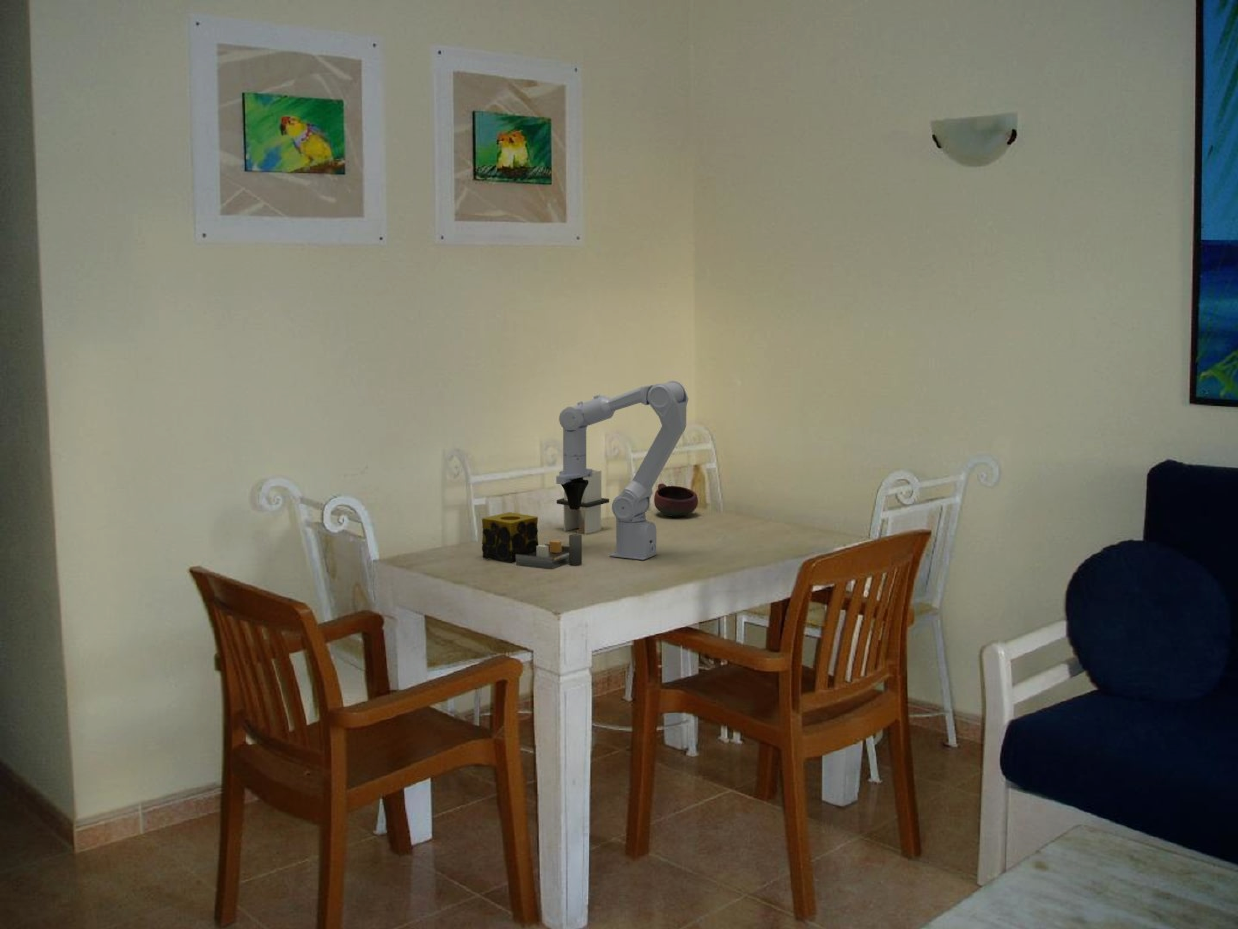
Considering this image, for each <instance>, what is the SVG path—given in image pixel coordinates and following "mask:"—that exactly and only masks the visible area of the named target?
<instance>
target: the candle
mask: <svg viewBox="0 0 1238 929" xmlns="http://www.w3.org/2000/svg"><path fill="white" fill-rule="evenodd" d="M481 523H482V525H481V526H482V541H481V542H482V543H481V544H482V546H481V551H482V557H483V558H484V559H488V560H492V561H498V562H502V563H503V562H504V563H509V564H511V563H516V554H523V555H528V554H530V553H533V552H536V546H538V545H539V539H538V538H539V534H538V533H539V529H538V523H539V517H538V516H536V515H528V514H524V513H516V512H510V511H508V512H505V513H500V514H495V515H490V516H486V517H482V518H481Z"/></svg>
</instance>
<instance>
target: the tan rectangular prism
mask: <svg viewBox="0 0 1238 929" xmlns="http://www.w3.org/2000/svg"><path fill="white" fill-rule="evenodd" d="M549 544H550V552H556V553H559V552H562V546H563V545H562V541H561V540H550V541H549Z"/></svg>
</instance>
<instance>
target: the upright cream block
mask: <svg viewBox="0 0 1238 929" xmlns="http://www.w3.org/2000/svg"><path fill="white" fill-rule="evenodd" d="M536 553H537V556H540V557H548V556H549V546H546V545H545V544H538V546H536Z"/></svg>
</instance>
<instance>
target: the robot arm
mask: <svg viewBox="0 0 1238 929" xmlns="http://www.w3.org/2000/svg"><path fill="white" fill-rule="evenodd" d="M687 394H688V393H687V391H686V388H685V387H684V386H683V384H681V383H680V382H678V381H675V380H670V381H667V382H665V383H664V382H663V383H655V384H651V385H645V386H640V387H637V388H635V389H632V390H630V391H627V392H624V393H622V394H619V395H616V396H614V397H612V398H610V397H609V396H606V395H600V394H595V395H594V396H593V399H590V400H587V401H584V402H583V401H579V402H577V403H576V404H577V405H575V406H567V407H566V408H564V409H562V410H561V412H560V413H559V418H558V421H559V424H560V426H561V427H562V428H563V429H562V433H563V435H562V438H563V439H562V466H563V467H562V470H561V471H559V473H558V475H556V476H555V477H556V483H555V484H557V485H561V487H562V489H563V492H564V491H565V493H566V496H567V499H568V503H569V507H570V509H573V510H578V509H580V505H581V501H582V497H583V494H584V491H585V489H586V487H587V485H588V480H583V478H585V477H592V470H593V468H587V428H588V426H592V425H594V424H599V423H601V422H603V421H606V420H609V419H612V418H613V416H614V414H615V412H616V411H618V410H622V409H624V408H629V407H630V406H634V405H637V404H641V405H644V406H650V407H651V409H652V410H653V411H654V412H655V414H656V415H657V416H658V418H659V422H660V424H661V427H660V430H659V431H658V433H657V435H656V437H655V438H654V440H653V442H652V444H651V446H650V447H649V450H648V451H647V453H646V454H645V457H644V458H643V460H642V462H641V464H640V465H639V467H638V469H637V471H636V472H635V475H634V476H633V478H632V480H631V481H630V482H629V483H628V484H627V485H626V486H625V487H624V489H623V491H622V492H621V493H620V494H619V495H618V496H616V497H615V498H614V499H613V500H612V503H611V510H612V513H613V515H614V517H615V518H616V520H615V522H616V523H615V534H616V536H615V538H616V541H615V544H616V545H615V550H616V551H614V552H612V553H610V554H609V557H613V558H614V557H615V558H623V559H625V558H626V559H632V560H633V559H634V560H641V561H645V560H647V559H650V558H651V557H654V556H657V555H658V554H659V552H658V551H657V526H656V524H655V523H654V521H650V520H647V519H646V518H647V517H646V513H647V511H648V510H649V508H650V505H651V504H650V503H651V502H650V501H651V497H652V495H653V487H654V485H655V483H656V481H657V480H658V478H659V476H660V475H661V473H662V471H663V469H664V467H665V465H666V463H667V462H668V461H669V458H670V457H671V455H672V453H673V451H674V450H675V448H676V446H677V444H678V442H679V441H680V439H681V437H682V435H683V433H684V432H685V430H686V427H687V406H688V401H689V397H688V395H687Z"/></svg>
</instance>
